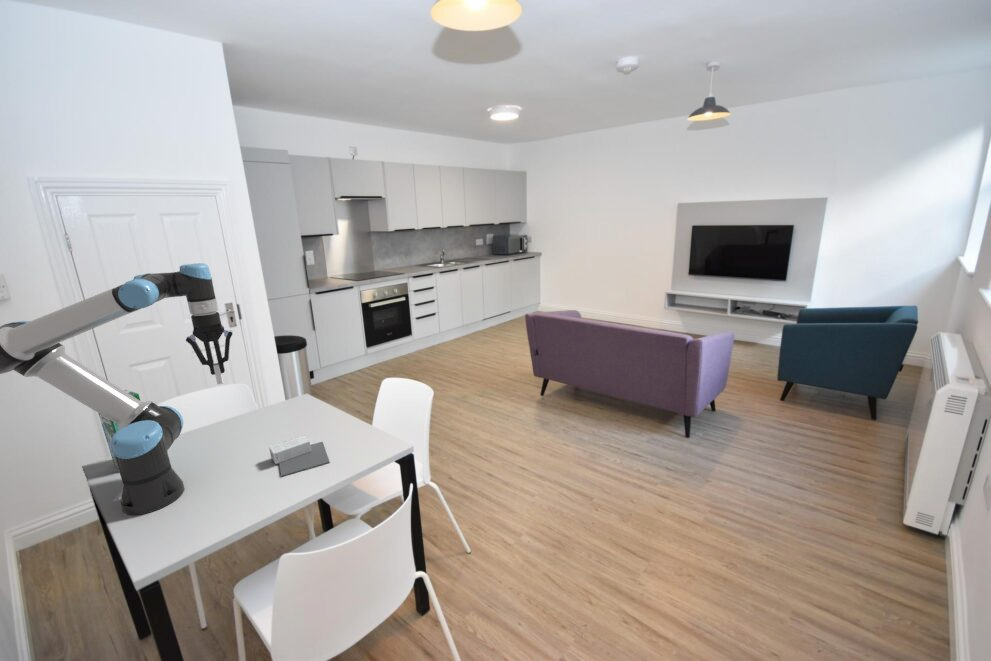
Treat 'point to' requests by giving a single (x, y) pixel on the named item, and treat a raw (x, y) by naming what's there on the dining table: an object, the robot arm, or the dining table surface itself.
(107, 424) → the milk carton
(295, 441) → the skincare box
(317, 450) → the mat
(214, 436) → the dining table surface
